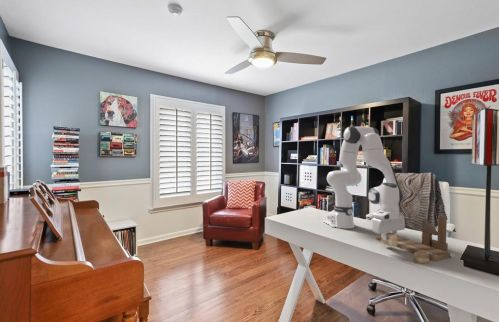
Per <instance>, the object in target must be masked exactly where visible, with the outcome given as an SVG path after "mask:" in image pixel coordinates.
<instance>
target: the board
mask: <svg viewBox="0 0 499 322" xmlns="http://www.w3.org/2000/svg"><path fill="white" fill-rule="evenodd" d="M376 240H378V241H380V242H381V235H380V234H379V235H376ZM395 247H397V248H400V249H402V250H404V251H406V252H410V253H413V254H414V253H415V252H419V251H425V252H428V253H429V260H431V261H434V262H436V261H440V260H444V259H448V258H451V254H452V253H450V252H447V251H442V250H439V249H436V248H433V247H431V246H427V245H424V244H422V242H418V241H415V240H412V239H409V238H406V237H402V236H399V235H397V246H395Z"/></svg>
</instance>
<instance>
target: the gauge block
mask: <svg viewBox="0 0 499 322" xmlns="http://www.w3.org/2000/svg"><path fill="white" fill-rule="evenodd" d="M380 234H381V233H380ZM386 236H387V237H388V240H386V241H385V240H383V236H382V234H381V241H380V243H381V244H383V245H385V246H389V247H391V248H392V247H396V246H397V236H398V233H396V234H394V233H392V232H387V234H386Z"/></svg>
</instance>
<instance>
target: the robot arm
mask: <svg viewBox="0 0 499 322" xmlns="http://www.w3.org/2000/svg"><path fill="white" fill-rule="evenodd" d="M342 137H343V141H342V144H341V147H340V151H339V159H338V161H339V163H340V164H341V165H342V167H343V169H341V170H332V171H329V172H328V173H327V175H326V181H327V183H328V185H329V186H331V188H332V189H333V191H334V195H335V196H334V198H335V199H334V200H335V204H334V205H332V208H333V210H331V211H329V212H328V213H327V215H326V218H325V219H324V220H323V221H322V222H323V223H324V222H325V223H324V224H326V223H327V225H328V224H329V225H328V226H330V227H332V228H335V227H336V228H337V229H338V228H339V229H354V228H355V222H354V221H355V220H354V214H353V212H354V206H353V194H352V193H351V192H350V191H348V186H350V187H351V186H356V185H359V184H360V183H361V182H362V174H361V172H360V171H358V168H357V161H358V155H359V149H360V146H361V148H362V158H363V161H364V162H365V163H366V164H367V166H369V167H372V168H374V169H377V170H379V171H380V172H382V174H383V176H384V179H385V182H382V183H381V184H380V185H378V186H375V187H371V188H370V189H369V190H368V192H367V199H368V201H369V202H370V203H371V204H372V205H373V204H374V205H379V206H380V207H379V209H378V210H377V211H375V212H373V213H372V217H373V219H372V231H373V232H374V233H375V234H379V235H380V234H382V236H383V240H385V241H386V240H388V237H387V236H386V234H387V232H391V233H394V234H398V233H397V232H398V231H403V230H405V228H406V221H405V216H404V214H403V212H401V211H400V206H399V204H400V203H402V200H403V198H404V194H403V191H402V189H401V187H400V186H399V181H398V179H397V176H396V173H395V170H394V167H393V164H392V162H391V161H390V160H389V159H388V158H387V157H386V154H385V151H384V147H383V146H384V145H383V143H382V139H381V136H380V133H379V130H378V129H377V128H375V127H372V126H371V127H370V126H363V125H360V126H354V125H353V126H348V127H346V128H344V131H343V133H342Z"/></svg>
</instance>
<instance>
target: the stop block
mask: <svg viewBox="0 0 499 322" xmlns="http://www.w3.org/2000/svg"><path fill="white" fill-rule="evenodd" d="M413 255H414V256H413V259H414V260H413V261H414V262H416V263H418V264H420V265H421V264H425V263H430V259H429V253H428V252H425V251H419V252H415V253H413Z"/></svg>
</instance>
